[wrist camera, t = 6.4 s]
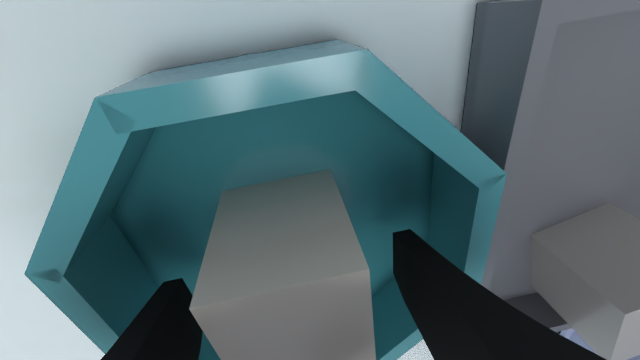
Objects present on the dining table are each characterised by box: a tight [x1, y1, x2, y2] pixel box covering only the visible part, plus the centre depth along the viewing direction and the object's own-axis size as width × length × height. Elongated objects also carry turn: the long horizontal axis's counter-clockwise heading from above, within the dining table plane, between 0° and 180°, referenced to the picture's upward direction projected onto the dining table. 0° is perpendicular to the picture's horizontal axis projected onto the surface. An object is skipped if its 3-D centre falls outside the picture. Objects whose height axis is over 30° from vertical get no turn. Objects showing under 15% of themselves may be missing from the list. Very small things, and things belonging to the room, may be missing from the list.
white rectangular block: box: [189, 169, 376, 360], centre depth 9 cm, size 5×4×5 cm
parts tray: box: [461, 0, 640, 332], centre depth 12 cm, size 16×13×2 cm
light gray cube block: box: [530, 203, 640, 360], centre depth 13 cm, size 4×4×4 cm
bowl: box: [25, 40, 507, 360], centre depth 11 cm, size 14×14×3 cm
